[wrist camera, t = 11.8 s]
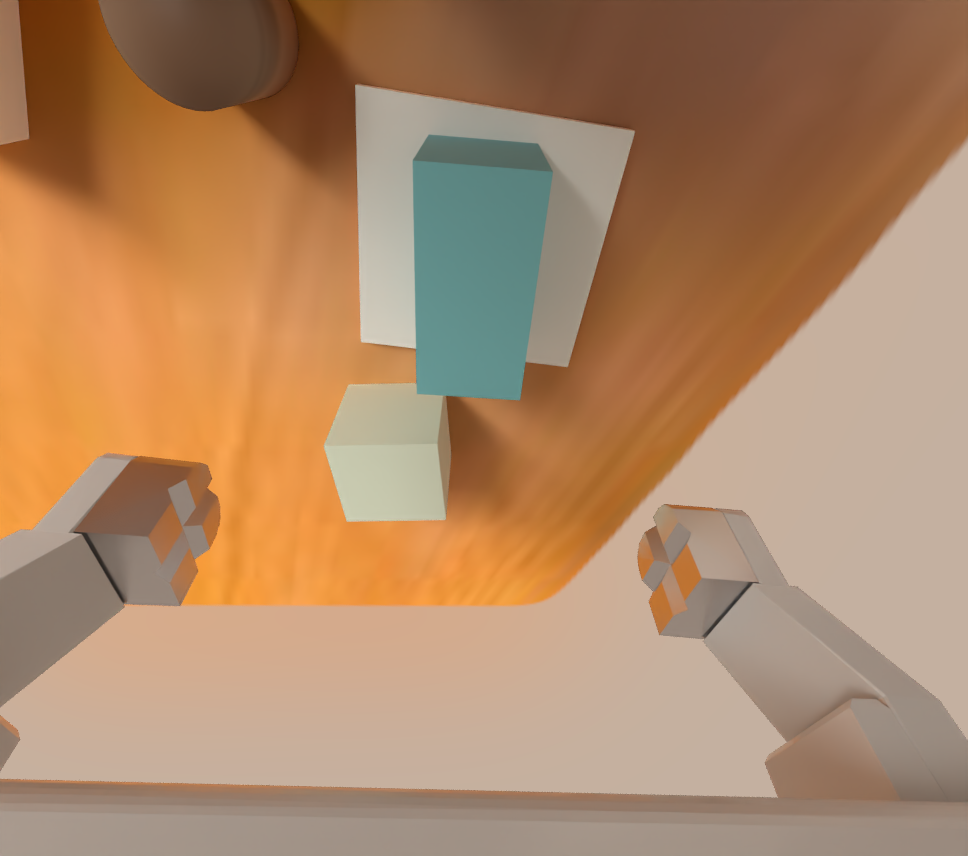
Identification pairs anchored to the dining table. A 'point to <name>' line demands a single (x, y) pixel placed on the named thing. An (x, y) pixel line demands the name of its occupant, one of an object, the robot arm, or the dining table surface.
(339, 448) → the sage cube
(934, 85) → the dining table surface
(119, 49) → the walnut cylinder
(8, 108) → the cream brick
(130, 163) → the dining table surface
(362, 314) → the coaster
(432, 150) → the teal brick
